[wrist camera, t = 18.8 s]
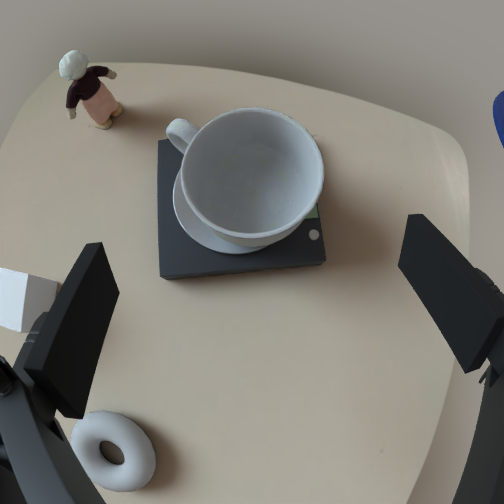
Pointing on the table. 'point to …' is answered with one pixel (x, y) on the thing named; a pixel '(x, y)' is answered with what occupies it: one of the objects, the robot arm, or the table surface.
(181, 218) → the scale pan
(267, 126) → the teacup
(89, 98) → the grandmother figurine
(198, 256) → the scale
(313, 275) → the table surface
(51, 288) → the white cube
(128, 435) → the donut
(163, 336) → the table surface
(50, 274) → the table surface
